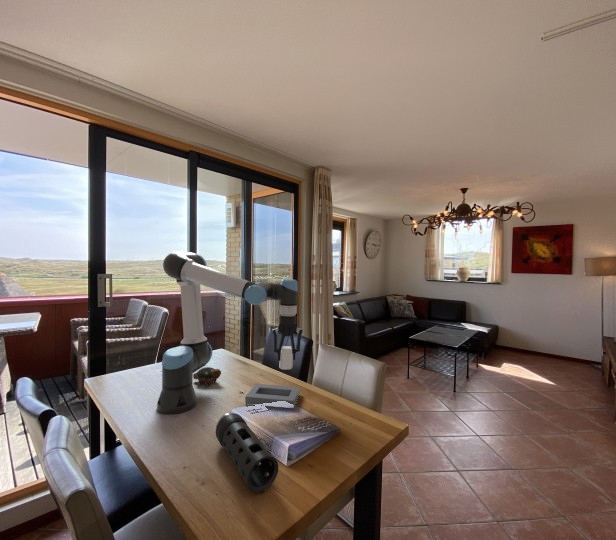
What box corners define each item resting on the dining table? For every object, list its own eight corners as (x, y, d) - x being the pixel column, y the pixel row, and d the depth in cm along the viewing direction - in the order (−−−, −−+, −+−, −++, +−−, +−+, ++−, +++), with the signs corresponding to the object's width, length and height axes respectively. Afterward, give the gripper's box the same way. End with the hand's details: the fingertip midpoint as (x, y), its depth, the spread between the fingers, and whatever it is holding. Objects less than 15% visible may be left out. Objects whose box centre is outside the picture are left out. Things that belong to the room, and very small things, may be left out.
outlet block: (245, 404, 126) (245, 396, 126) (255, 390, 140) (255, 383, 140) (293, 409, 123) (293, 400, 123) (299, 394, 137) (299, 387, 137)
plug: (280, 366, 133) (281, 346, 132) (289, 365, 134) (290, 346, 133) (281, 369, 129) (282, 349, 129) (290, 369, 130) (291, 348, 129)
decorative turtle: (217, 388, 142) (216, 372, 142) (188, 387, 145) (187, 371, 144) (226, 379, 152) (225, 364, 151) (199, 379, 154) (197, 364, 154)
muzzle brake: (245, 503, 75) (246, 462, 75) (213, 445, 98) (213, 414, 98) (279, 488, 80) (280, 450, 80) (240, 436, 103) (241, 407, 103)
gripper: (269, 316, 125) (267, 371, 125) (308, 316, 129) (306, 369, 129) (267, 313, 132) (265, 365, 133) (305, 313, 136) (302, 363, 136)
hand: (285, 367), depth 131 cm, fingers closed on plug, 4 cm apart
